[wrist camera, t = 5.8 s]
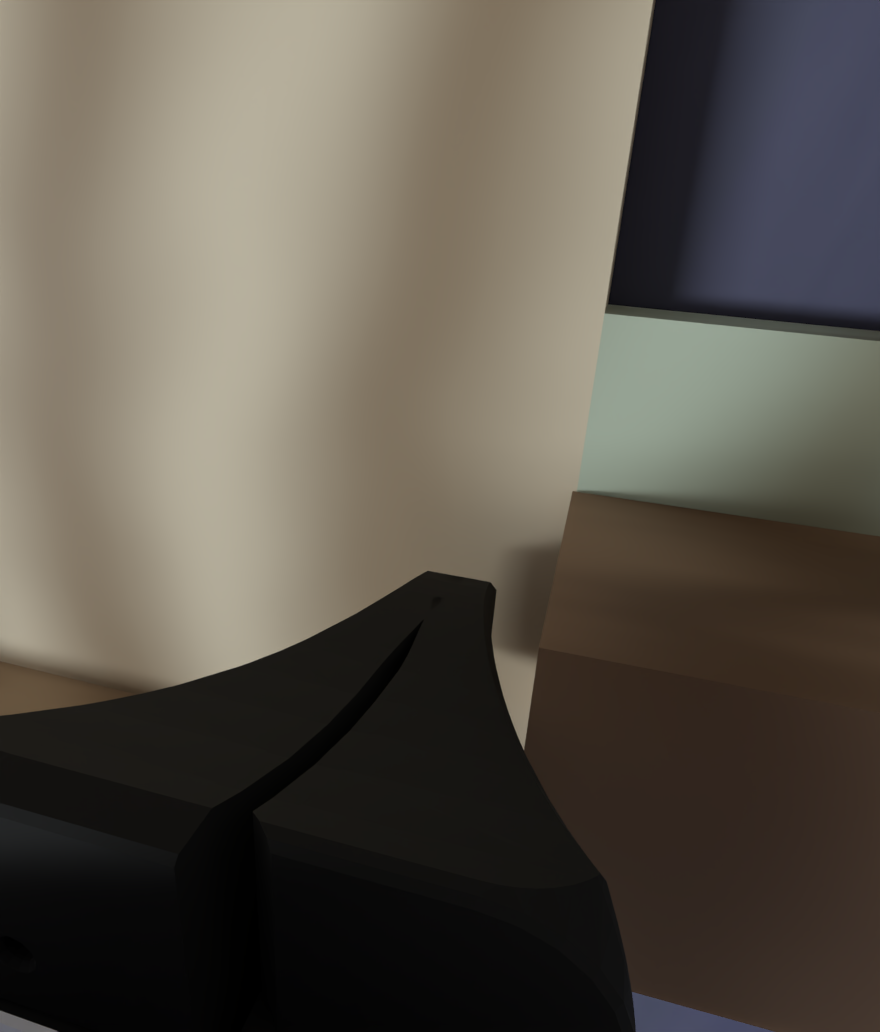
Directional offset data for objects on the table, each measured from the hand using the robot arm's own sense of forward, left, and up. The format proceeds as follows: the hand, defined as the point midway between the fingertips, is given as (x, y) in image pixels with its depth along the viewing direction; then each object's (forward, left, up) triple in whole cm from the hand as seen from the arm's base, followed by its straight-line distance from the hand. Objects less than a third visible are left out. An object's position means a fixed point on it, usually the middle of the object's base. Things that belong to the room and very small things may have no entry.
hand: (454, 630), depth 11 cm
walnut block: (-4, 0, -1) cm, 4 cm away
